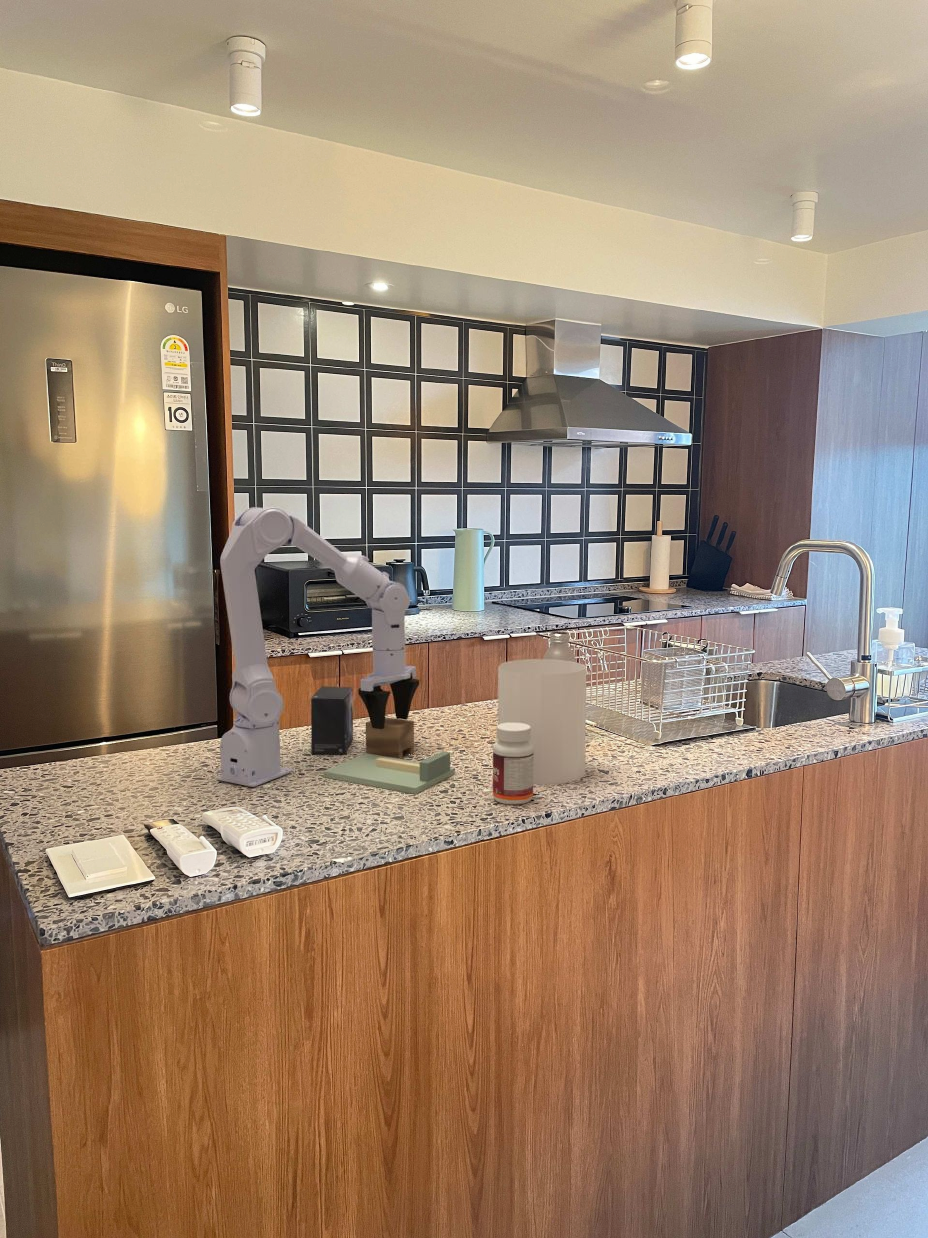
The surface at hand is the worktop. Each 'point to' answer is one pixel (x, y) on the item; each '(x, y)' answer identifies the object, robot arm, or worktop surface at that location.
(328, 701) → the small box
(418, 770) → the wall board
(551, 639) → the plastic bottle
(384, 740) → the brown block
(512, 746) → the pill bottle
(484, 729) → the worktop surface
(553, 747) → the container
